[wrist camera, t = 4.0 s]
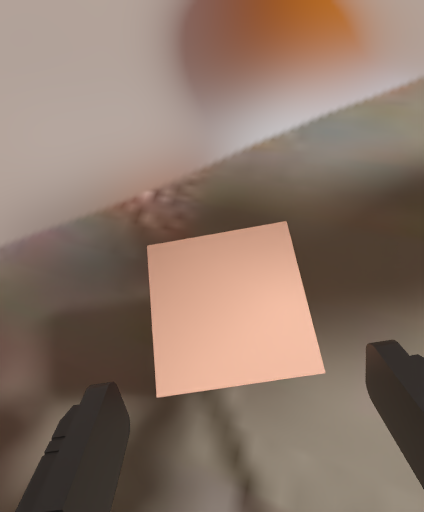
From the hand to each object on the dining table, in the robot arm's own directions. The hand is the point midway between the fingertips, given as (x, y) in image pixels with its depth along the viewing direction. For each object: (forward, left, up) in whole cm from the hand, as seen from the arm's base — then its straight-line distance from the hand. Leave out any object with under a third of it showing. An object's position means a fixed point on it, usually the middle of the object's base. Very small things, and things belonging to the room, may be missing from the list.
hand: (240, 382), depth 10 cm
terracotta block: (0, -2, -8) cm, 8 cm away
